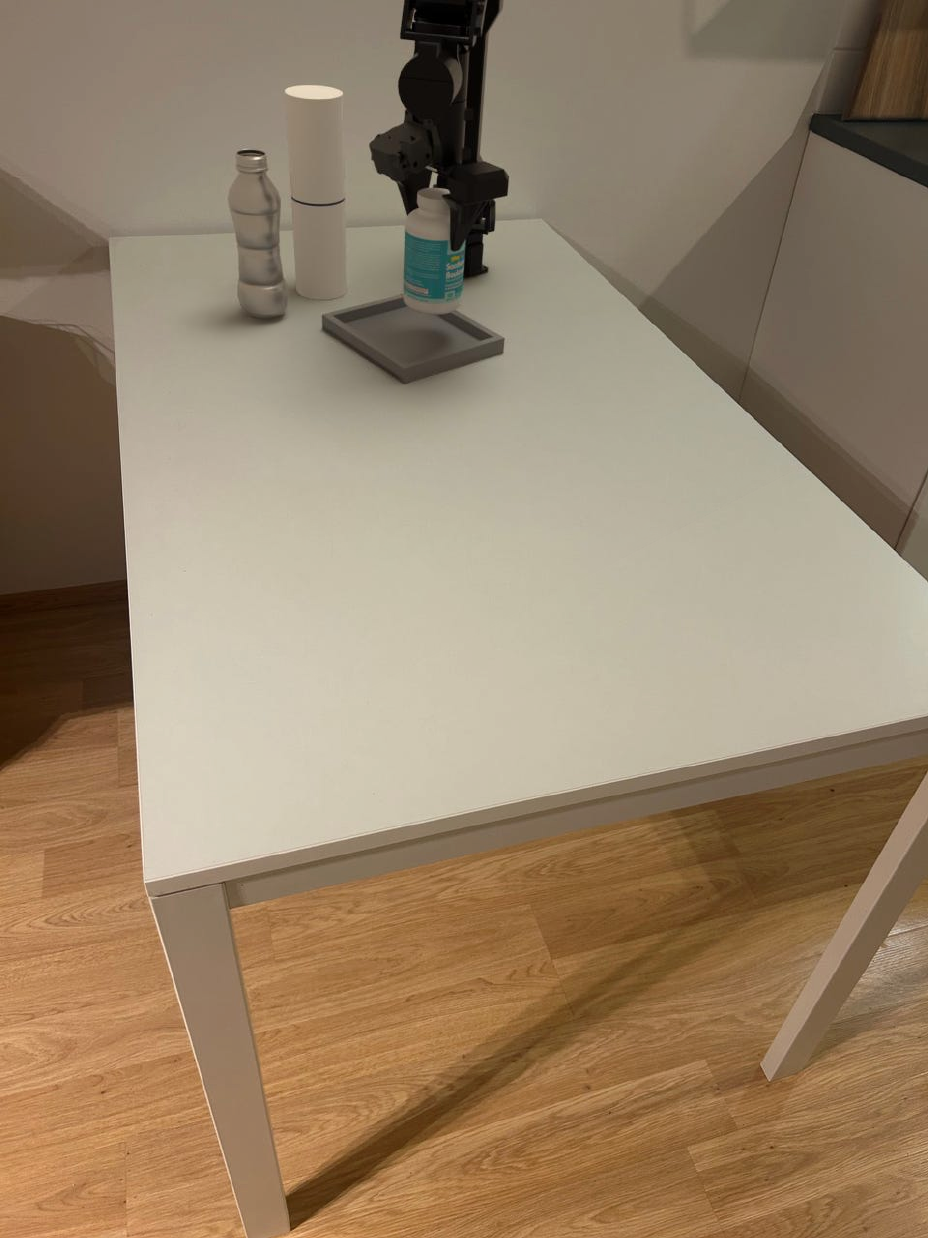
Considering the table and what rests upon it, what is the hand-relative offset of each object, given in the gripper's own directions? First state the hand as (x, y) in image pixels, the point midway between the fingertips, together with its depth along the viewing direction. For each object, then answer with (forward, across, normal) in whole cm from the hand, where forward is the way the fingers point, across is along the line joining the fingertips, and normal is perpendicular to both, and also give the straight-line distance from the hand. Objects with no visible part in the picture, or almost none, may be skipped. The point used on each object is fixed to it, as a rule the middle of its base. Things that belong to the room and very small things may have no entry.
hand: (434, 240), depth 113 cm
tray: (+13, -1, -2) cm, 13 cm away
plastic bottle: (+13, -19, -14) cm, 27 cm away
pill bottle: (+8, 0, 0) cm, 8 cm away
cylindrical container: (+13, -22, -3) cm, 25 cm away
